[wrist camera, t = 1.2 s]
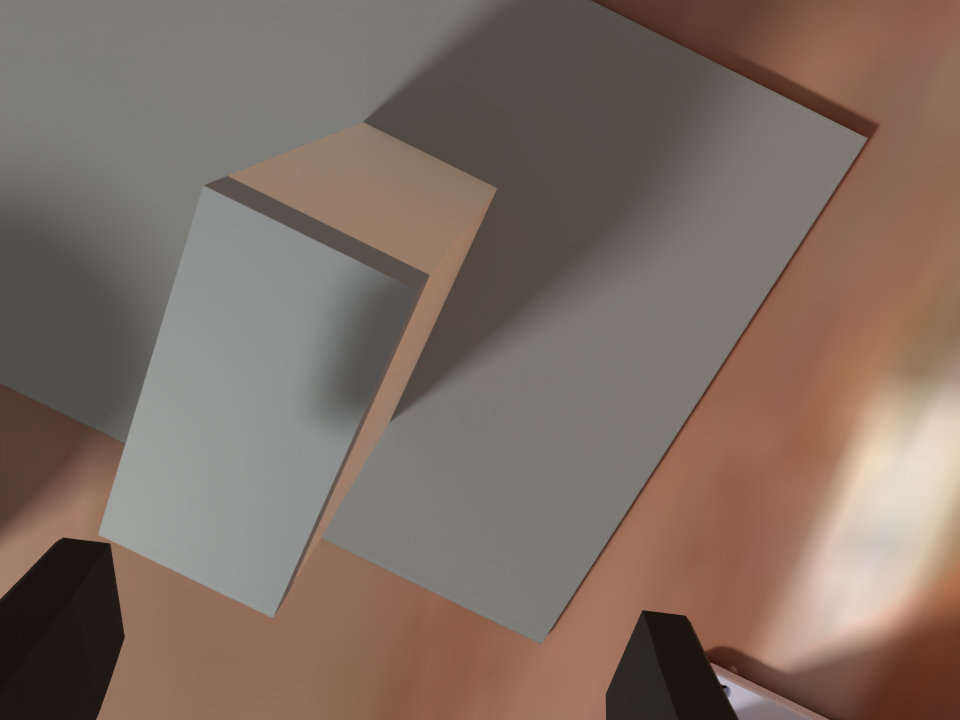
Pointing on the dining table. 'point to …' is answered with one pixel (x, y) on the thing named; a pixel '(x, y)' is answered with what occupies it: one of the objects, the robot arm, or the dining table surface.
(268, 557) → the beige rectangular block
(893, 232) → the dining table surface
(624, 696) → the robot arm
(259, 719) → the dining table surface
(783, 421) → the dining table surface
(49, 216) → the mat
